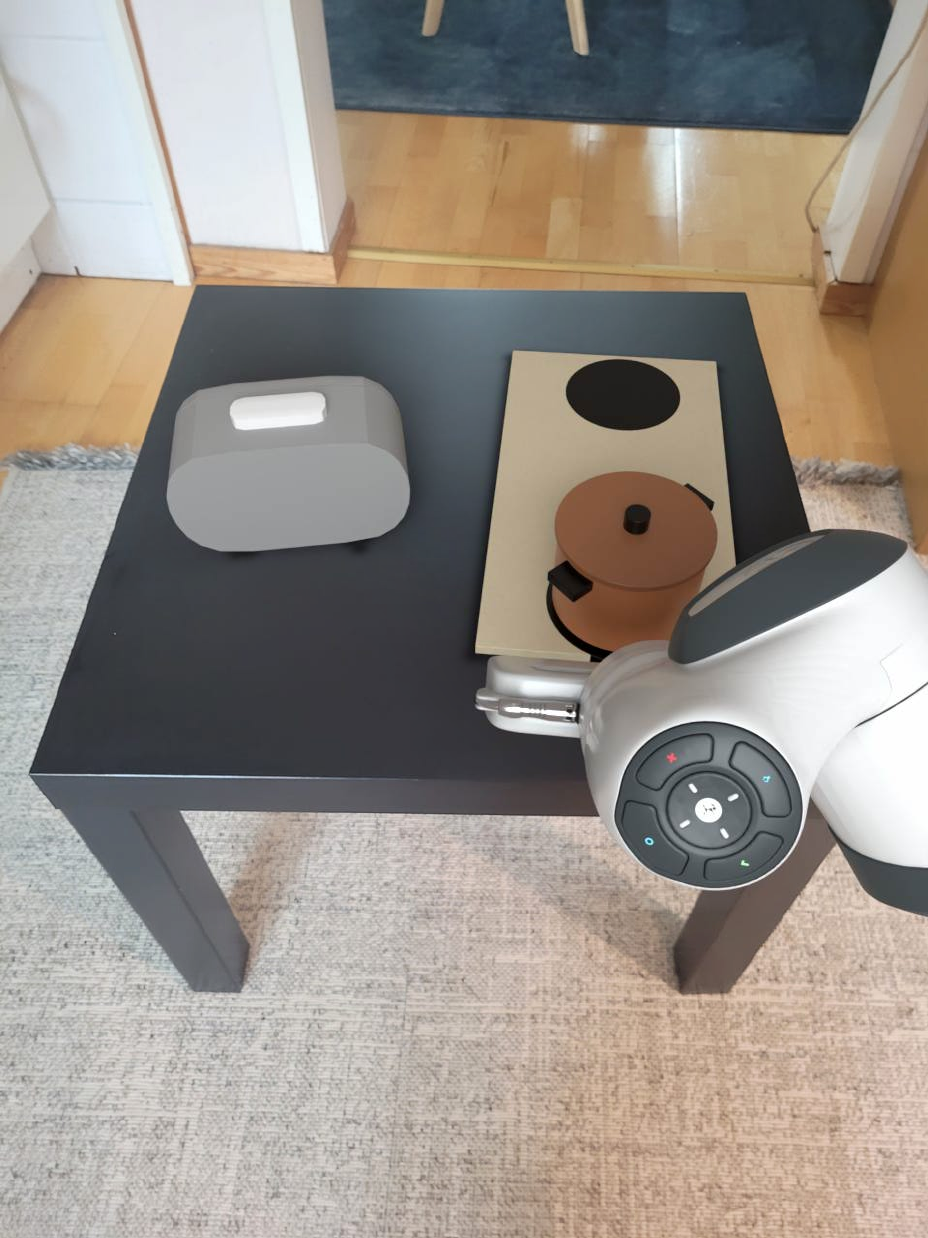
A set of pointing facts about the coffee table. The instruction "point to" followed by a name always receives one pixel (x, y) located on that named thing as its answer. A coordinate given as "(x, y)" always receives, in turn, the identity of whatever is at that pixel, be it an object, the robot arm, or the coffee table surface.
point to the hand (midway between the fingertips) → (634, 680)
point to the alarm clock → (288, 464)
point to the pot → (629, 556)
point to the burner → (622, 394)
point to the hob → (565, 457)
